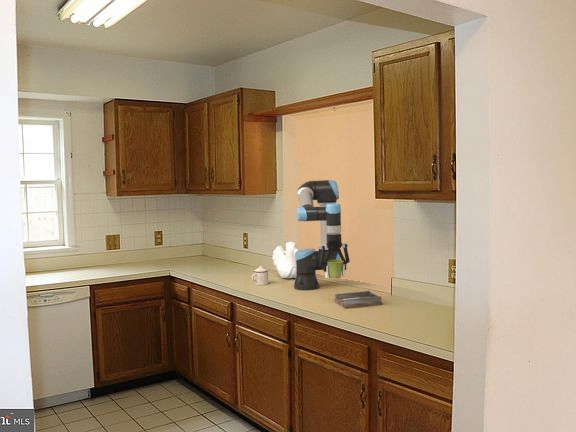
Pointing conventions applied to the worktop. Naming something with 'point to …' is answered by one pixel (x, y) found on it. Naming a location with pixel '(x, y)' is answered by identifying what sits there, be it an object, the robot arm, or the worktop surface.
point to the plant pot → (334, 268)
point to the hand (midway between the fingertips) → (335, 277)
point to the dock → (357, 299)
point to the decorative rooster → (286, 260)
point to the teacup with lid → (260, 276)
